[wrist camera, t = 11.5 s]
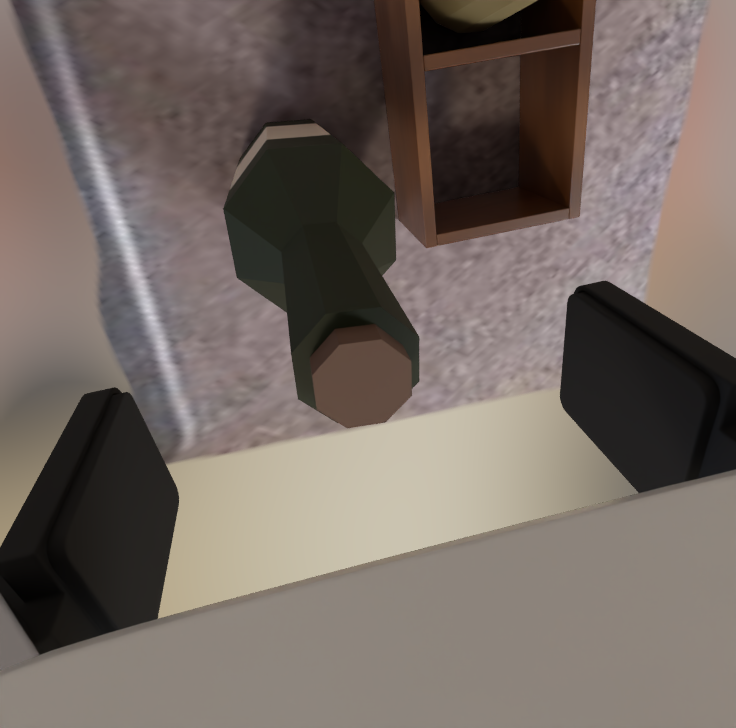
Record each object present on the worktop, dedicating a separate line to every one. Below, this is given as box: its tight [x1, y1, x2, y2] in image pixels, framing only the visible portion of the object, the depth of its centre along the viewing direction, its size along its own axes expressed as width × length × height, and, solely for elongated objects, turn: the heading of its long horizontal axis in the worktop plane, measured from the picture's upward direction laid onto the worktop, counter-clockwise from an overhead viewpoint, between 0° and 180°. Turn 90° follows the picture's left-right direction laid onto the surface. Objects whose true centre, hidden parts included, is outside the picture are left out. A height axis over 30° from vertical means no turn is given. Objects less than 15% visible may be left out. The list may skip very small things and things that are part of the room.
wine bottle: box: [223, 119, 419, 428], centre depth 24 cm, size 8×8×30 cm
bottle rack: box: [374, 0, 596, 248], centre depth 32 cm, size 21×11×8 cm, turn 9°
